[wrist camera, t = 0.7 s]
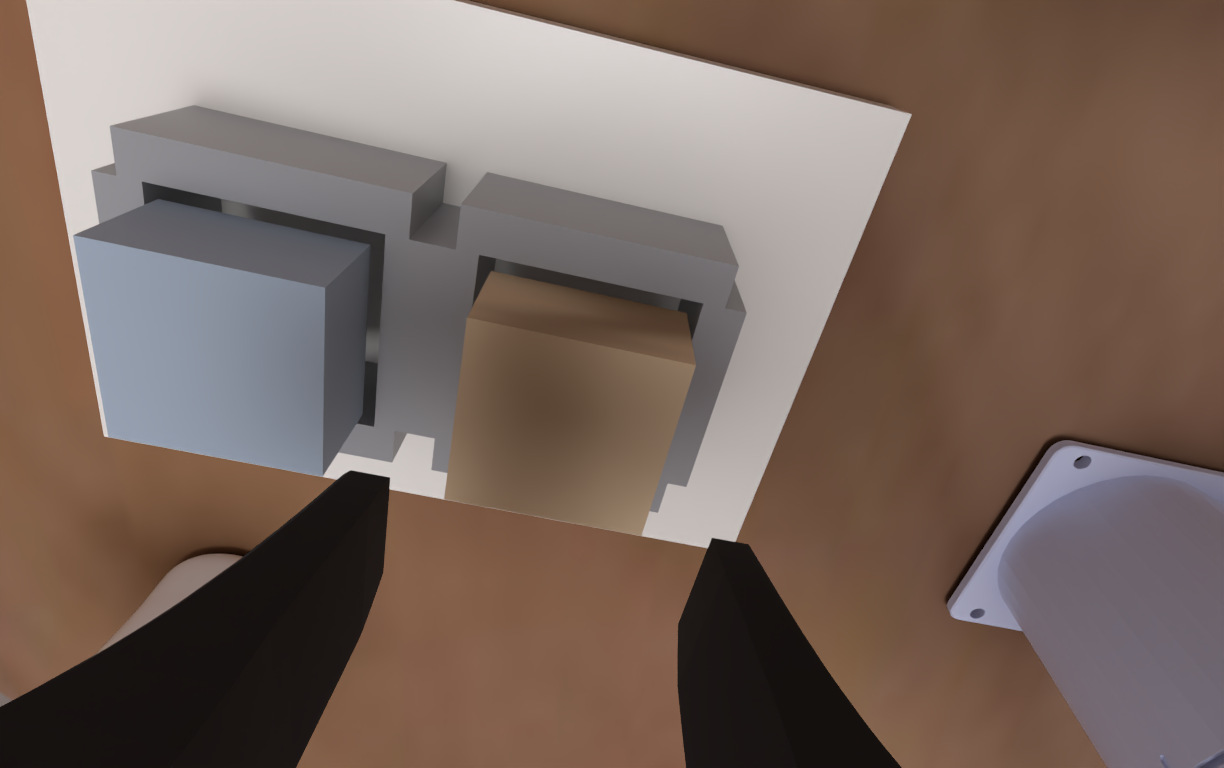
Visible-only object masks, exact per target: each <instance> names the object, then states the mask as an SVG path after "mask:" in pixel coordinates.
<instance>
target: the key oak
mask: <svg viewBox="0 0 1224 768" xmlns="http://www.w3.org/2000/svg"><path fill="white" fill-rule="evenodd" d="M695 367H696V362H695V357H694V351H693V345H692V340H691V334H690V329H689V323H688V317H687V313H685V312H680V311H675V310H671V309H666V308H662V307H657V306H652V305H648V304H643V303H638V302H634V301H629V300H624V299H620V298H615V297H611V296H606V295H601V294H597V293H592V292H587V291H583V290H578V289H573V288H569V287H564V286H560V285H555V284H550V283H546V282H541V281H536V280H532V279H527V278H522V277H518V276H513V275H509V274H504V273H499V272H495V271H491V272H490V274H489V276H488V278H487V280H486V282H485V283H484V285H483V287H482V289H481V291H480V293H479V295H478V297H477V299H476V301H475V303H474V305H473V307H472V309H471V311H470V313H469V315H468V317H467V322H466V330H465V338H464V346H463V354H462V362H461V369H460V377H459V385H458V393H457V401H456V409H455V417H454V425H453V433H452V441H451V449H450V456H449V464H448V472H447V480H446V488H445V496H444V499H446V500H451V501H457V502H462V503H467V504H473V505H478V506H484V507H489V508H494V509H500V510H505V511H511V512H516V513H521V514H527V515H532V516H537V517H543V518H548V519H554V520H559V521H564V522H570V523H575V524H581V525H586V526H591V527H597V528H602V529H608V530H613V531H618V532H624V533H629V534H635V535H640V536H642V533H643V530H644V526H645V523H646V520H647V517H648V514H649V511H650V508H651V505H652V501H653V498H654V495H655V492H656V489H657V486H658V483H659V480H660V476H661V473H662V470H663V467H664V464H665V461H666V458H667V455H668V452H669V448H670V445H671V442H672V439H673V436H674V433H675V430H676V427H677V423H678V420H679V417H680V414H681V411H682V408H683V405H684V402H685V398H686V395H687V392H688V389H689V386H690V383H691V380H692V377H693V373H694V370H695Z"/></svg>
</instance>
